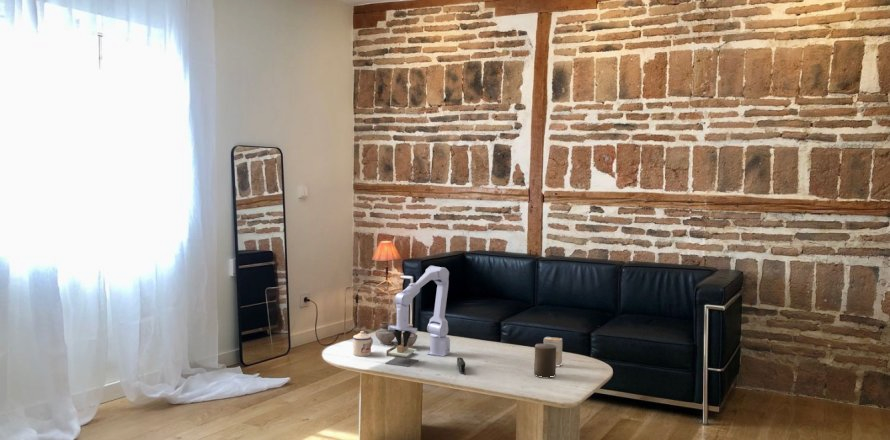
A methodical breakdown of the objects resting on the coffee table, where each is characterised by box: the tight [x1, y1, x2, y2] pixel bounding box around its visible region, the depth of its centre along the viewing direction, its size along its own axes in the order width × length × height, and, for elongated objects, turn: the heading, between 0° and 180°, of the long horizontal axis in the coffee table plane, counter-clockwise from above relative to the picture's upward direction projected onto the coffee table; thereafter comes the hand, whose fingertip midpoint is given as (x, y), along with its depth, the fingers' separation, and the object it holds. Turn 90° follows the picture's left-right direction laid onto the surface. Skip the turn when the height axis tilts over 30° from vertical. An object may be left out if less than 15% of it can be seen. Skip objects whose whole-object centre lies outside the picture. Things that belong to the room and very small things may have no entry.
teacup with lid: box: [352, 330, 374, 357], centre depth 371 cm, size 12×9×12 cm
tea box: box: [386, 345, 414, 358], centre depth 371 cm, size 10×10×3 cm
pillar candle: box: [533, 343, 557, 377], centre depth 338 cm, size 10×10×15 cm
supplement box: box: [543, 336, 563, 365], centre depth 355 cm, size 8×5×13 cm, turn 65°
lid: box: [389, 343, 417, 358], centre depth 357 cm, size 10×10×4 cm
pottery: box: [374, 321, 418, 349], centre depth 389 cm, size 11×25×12 cm, turn 57°
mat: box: [385, 357, 420, 368], centre depth 357 cm, size 12×12×1 cm
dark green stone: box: [456, 356, 467, 376], centre depth 344 cm, size 5×3×15 cm
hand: (402, 346), depth 356 cm, fingers closed on lid, 2 cm apart
